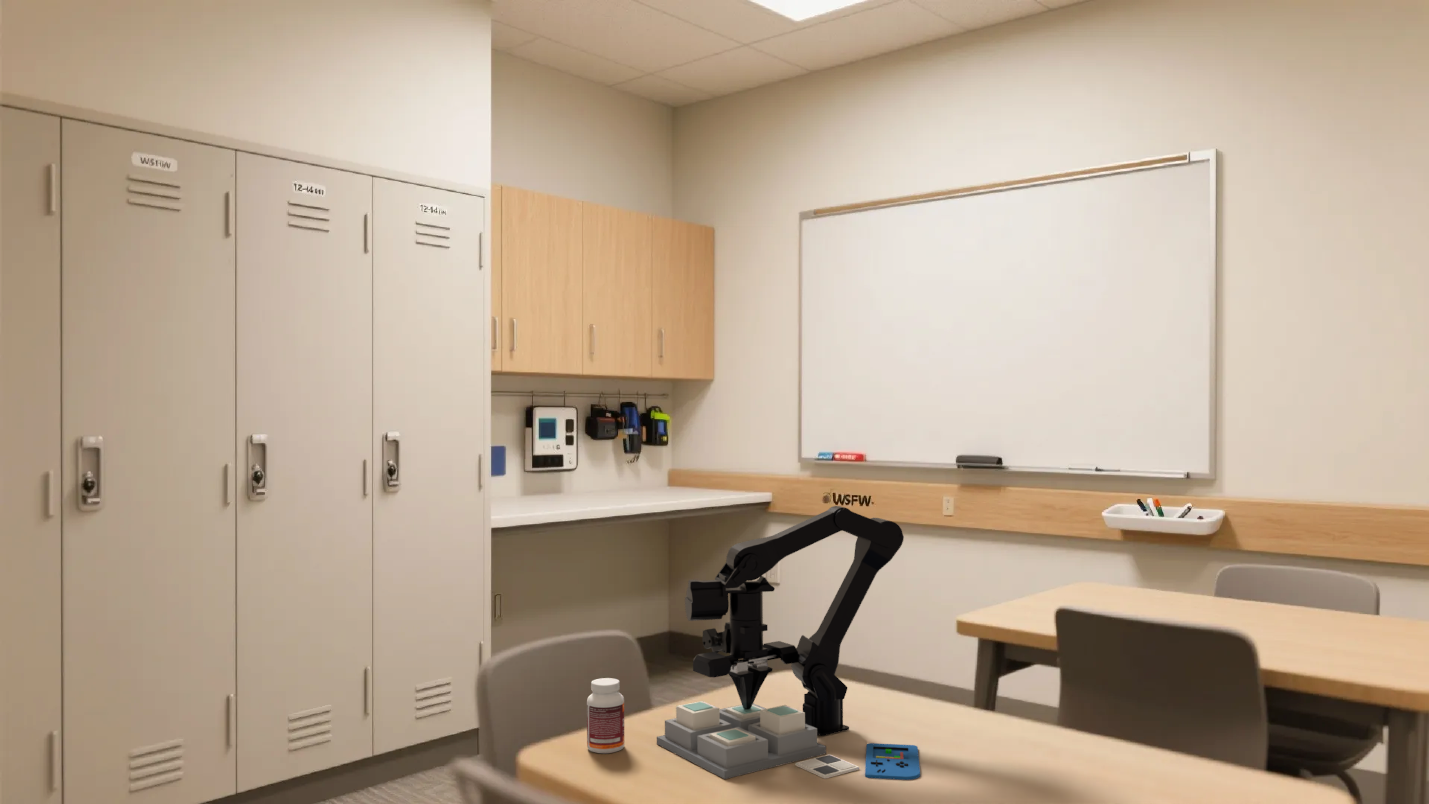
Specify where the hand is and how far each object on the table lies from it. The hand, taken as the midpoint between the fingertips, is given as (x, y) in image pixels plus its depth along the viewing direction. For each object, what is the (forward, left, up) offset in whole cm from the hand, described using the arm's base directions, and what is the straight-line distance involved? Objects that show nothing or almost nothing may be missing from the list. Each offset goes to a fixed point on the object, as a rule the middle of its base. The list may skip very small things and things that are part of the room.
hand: (746, 708), depth 173 cm
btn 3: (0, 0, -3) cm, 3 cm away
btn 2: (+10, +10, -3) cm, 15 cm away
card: (-1, +20, -4) cm, 21 cm away
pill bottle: (+23, -8, -5) cm, 25 cm away
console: (+5, +5, -4) cm, 8 cm away
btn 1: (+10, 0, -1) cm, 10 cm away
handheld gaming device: (-11, +24, -5) cm, 27 cm away
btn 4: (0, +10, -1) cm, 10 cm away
